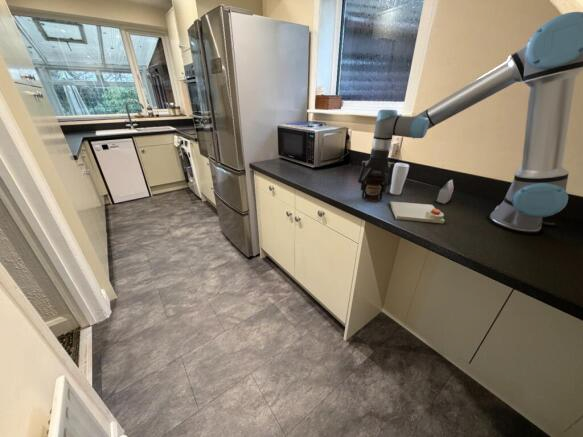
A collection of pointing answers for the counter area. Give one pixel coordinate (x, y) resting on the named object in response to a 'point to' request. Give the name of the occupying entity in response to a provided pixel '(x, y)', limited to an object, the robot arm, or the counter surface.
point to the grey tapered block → (445, 192)
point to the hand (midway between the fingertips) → (371, 197)
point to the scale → (415, 212)
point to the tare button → (435, 211)
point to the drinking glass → (398, 177)
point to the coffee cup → (373, 186)
